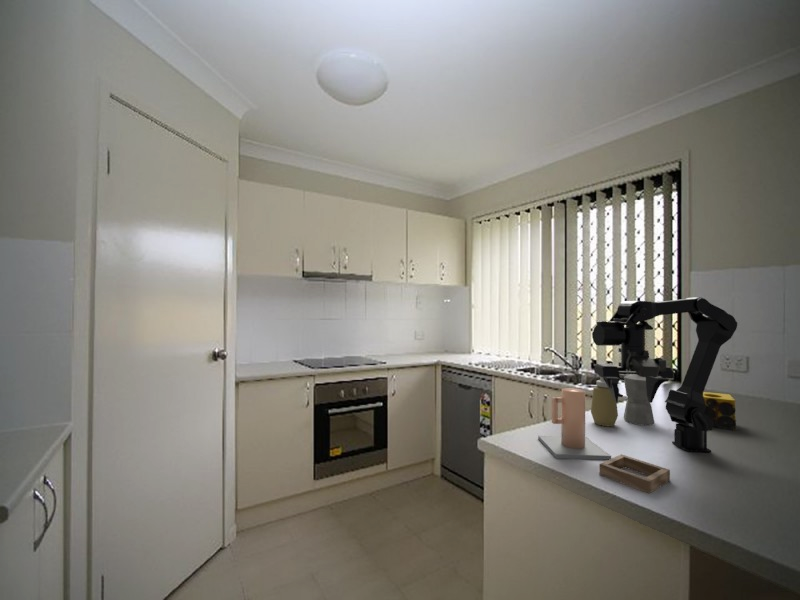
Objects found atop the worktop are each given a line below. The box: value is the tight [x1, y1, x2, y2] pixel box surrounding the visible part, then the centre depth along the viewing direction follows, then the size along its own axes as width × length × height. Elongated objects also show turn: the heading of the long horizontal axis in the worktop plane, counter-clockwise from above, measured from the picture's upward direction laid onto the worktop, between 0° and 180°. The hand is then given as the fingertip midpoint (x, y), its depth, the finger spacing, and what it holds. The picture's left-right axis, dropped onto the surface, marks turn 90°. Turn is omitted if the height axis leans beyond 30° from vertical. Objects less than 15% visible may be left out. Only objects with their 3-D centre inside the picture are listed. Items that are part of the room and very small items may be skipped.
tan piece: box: [551, 387, 586, 449], centre depth 103 cm, size 9×6×15 cm
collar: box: [598, 454, 671, 494], centre depth 85 cm, size 10×10×2 cm
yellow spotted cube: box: [703, 391, 737, 431], centre depth 126 cm, size 10×10×10 cm
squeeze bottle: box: [590, 376, 619, 427], centre depth 125 cm, size 8×8×18 cm
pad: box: [537, 435, 612, 460], centre depth 102 cm, size 14×14×1 cm
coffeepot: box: [617, 374, 656, 426], centre depth 129 cm, size 15×9×18 cm, turn 44°
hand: (632, 401), depth 103 cm, fingers open, 9 cm apart
